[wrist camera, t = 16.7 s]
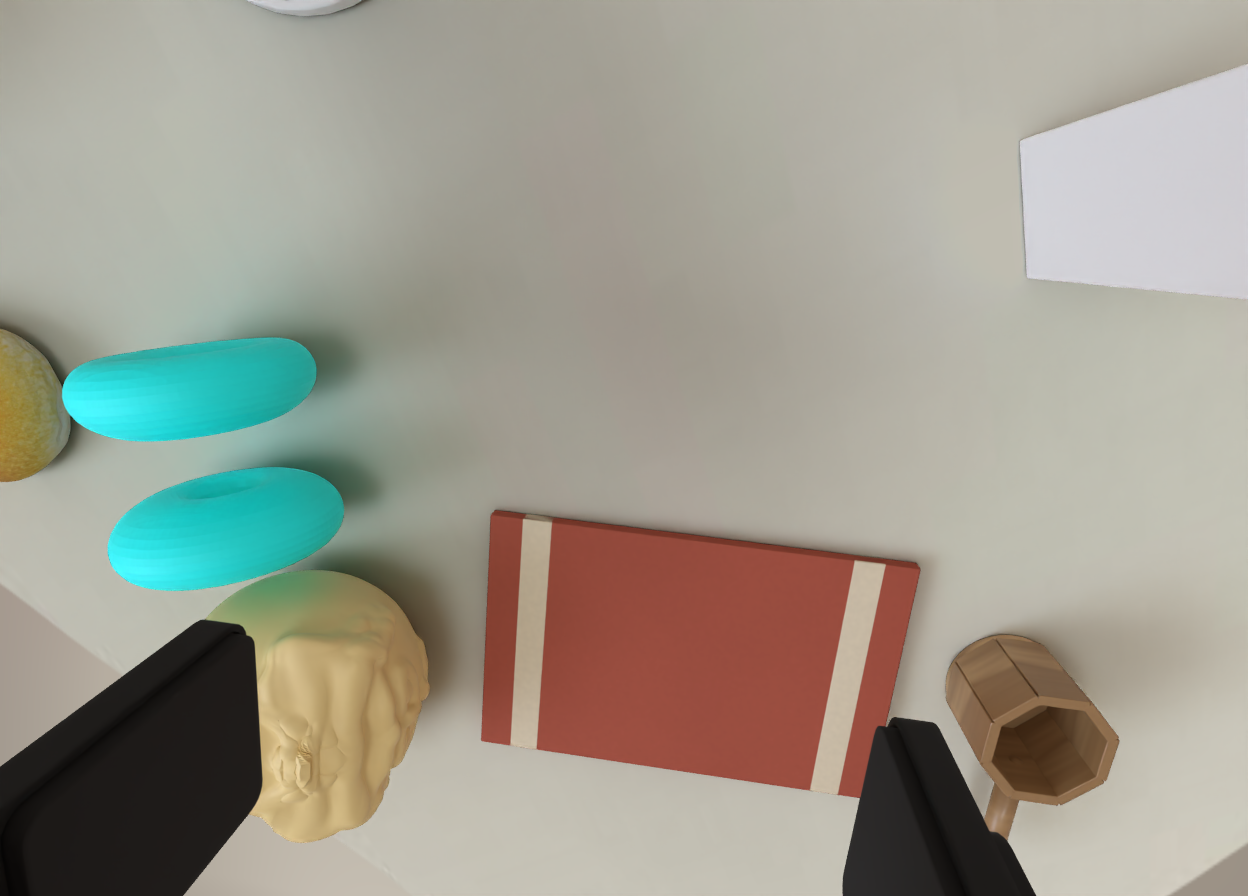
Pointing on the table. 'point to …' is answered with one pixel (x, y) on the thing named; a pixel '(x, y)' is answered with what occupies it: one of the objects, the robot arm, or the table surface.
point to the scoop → (1027, 725)
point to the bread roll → (28, 410)
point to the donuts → (220, 503)
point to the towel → (691, 650)
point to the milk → (1145, 193)
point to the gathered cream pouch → (328, 696)
